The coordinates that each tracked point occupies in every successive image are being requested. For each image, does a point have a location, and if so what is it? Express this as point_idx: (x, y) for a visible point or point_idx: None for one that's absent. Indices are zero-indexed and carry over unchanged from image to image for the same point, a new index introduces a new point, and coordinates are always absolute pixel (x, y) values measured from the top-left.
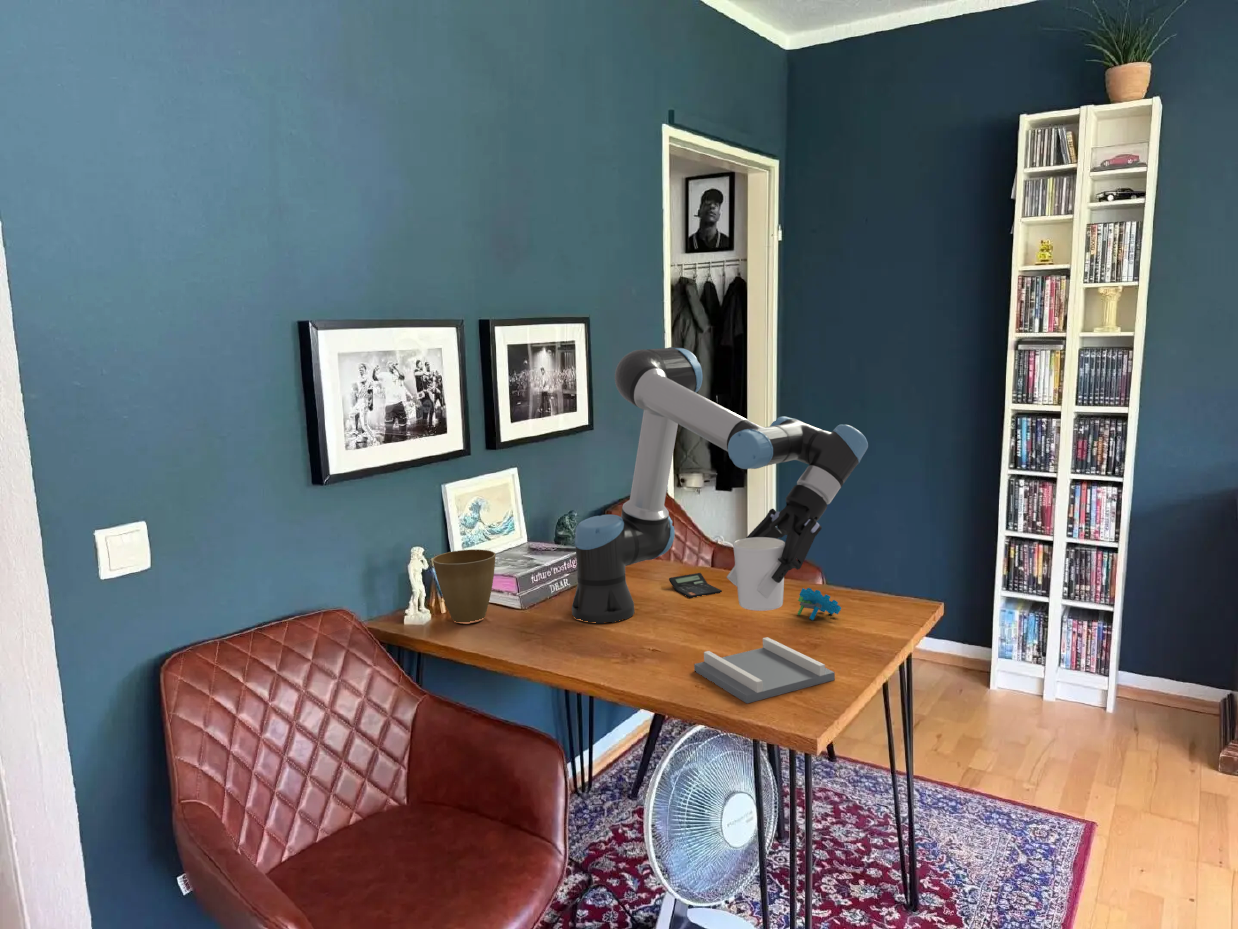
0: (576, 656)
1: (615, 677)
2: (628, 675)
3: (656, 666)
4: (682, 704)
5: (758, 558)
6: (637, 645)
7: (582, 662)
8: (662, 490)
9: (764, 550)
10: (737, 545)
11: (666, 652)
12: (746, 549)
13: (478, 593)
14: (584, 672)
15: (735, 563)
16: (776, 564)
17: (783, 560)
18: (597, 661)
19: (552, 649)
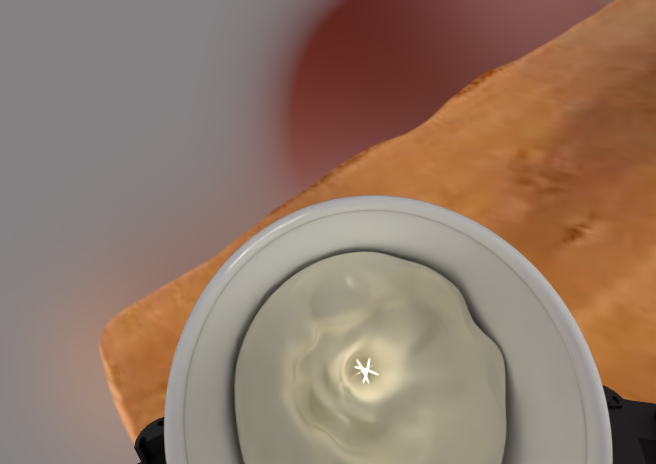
0: (572, 106)
1: (452, 137)
2: (454, 156)
3: (481, 209)
4: (305, 194)
5: (235, 298)
6: (611, 212)
7: (539, 108)
8: None
9: (188, 323)
10: (513, 279)
11: (554, 250)
12: (271, 224)
13: None
14: (490, 103)
15: (399, 251)
16: None
17: (144, 444)
18: (537, 129)
19: (619, 80)
